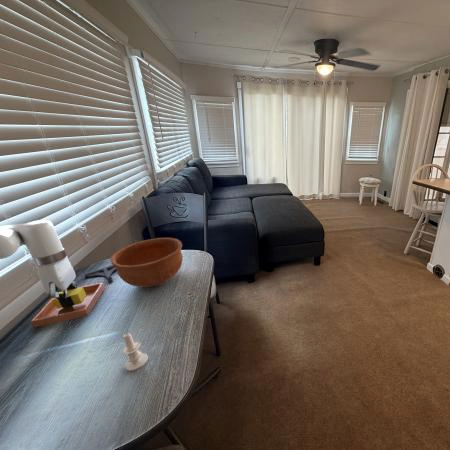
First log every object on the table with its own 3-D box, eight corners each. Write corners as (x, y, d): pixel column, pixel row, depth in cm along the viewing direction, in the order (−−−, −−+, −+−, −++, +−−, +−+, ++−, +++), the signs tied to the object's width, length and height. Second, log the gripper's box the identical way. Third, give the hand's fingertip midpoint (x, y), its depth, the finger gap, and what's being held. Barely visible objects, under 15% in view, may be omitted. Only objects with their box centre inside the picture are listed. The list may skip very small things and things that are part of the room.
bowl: (185, 261, 117) (179, 233, 112) (192, 287, 97) (184, 254, 91) (124, 276, 106) (114, 245, 100) (117, 309, 85) (104, 273, 80)
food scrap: (57, 320, 80) (55, 316, 79) (64, 311, 83) (62, 307, 82) (72, 317, 81) (69, 313, 80) (78, 309, 84) (76, 304, 83)
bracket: (89, 291, 96) (87, 285, 95) (85, 276, 106) (83, 271, 105) (131, 276, 105) (129, 271, 104) (123, 264, 115) (122, 259, 114)
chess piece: (130, 356, 67) (119, 327, 63) (150, 352, 68) (141, 323, 64) (121, 373, 62) (109, 343, 58) (143, 369, 63) (133, 339, 59)
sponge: (56, 308, 83) (52, 299, 81) (63, 301, 86) (58, 292, 85) (81, 303, 85) (77, 294, 83) (86, 295, 89) (82, 286, 87)
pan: (34, 328, 77) (30, 321, 76) (61, 297, 92) (58, 290, 91) (88, 316, 82) (85, 309, 81) (105, 288, 97) (103, 282, 96)
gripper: (49, 249, 85) (69, 291, 92) (19, 272, 70) (45, 321, 77) (75, 244, 87) (93, 286, 94) (51, 266, 73) (74, 314, 80)
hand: (71, 301), depth 85 cm, fingers closed on sponge, 4 cm apart
